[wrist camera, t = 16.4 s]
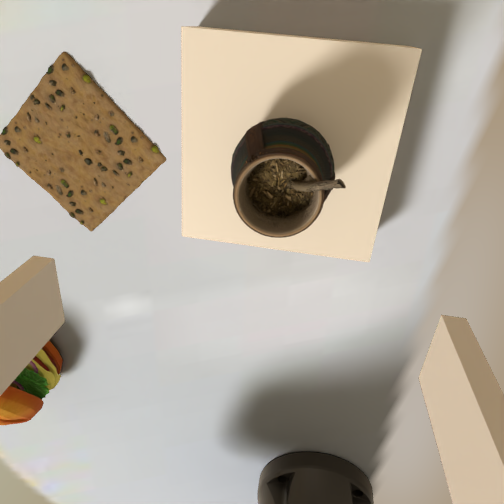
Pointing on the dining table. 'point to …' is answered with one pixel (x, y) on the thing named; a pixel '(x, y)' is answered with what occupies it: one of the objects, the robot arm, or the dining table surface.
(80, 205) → the cookie
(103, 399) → the dining table surface
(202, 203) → the cream square slab
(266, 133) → the mate gourd
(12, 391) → the cheeseburger
